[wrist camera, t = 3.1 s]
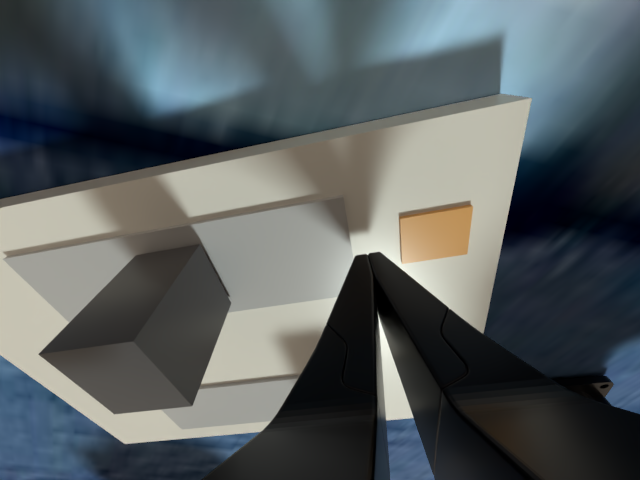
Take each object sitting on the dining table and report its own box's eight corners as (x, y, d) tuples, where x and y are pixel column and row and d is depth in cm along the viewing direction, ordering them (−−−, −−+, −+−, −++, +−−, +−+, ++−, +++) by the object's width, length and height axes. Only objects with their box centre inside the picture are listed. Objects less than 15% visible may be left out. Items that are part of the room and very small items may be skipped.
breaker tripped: (200, 244, 9) (133, 341, 6) (231, 303, 11) (192, 406, 8) (135, 255, 10) (38, 354, 6) (175, 311, 11) (114, 414, 8)
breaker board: (500, 93, 9) (536, 98, 7) (457, 389, 18) (468, 416, 17) (-105, 221, 11) (-168, 243, 10) (136, 421, 21) (123, 447, 19)
